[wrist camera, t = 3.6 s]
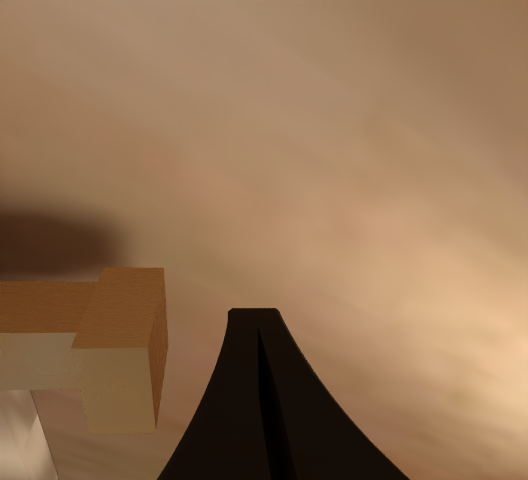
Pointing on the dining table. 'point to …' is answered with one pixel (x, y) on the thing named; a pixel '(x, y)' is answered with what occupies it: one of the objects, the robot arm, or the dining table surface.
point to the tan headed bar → (90, 344)
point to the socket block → (22, 440)
